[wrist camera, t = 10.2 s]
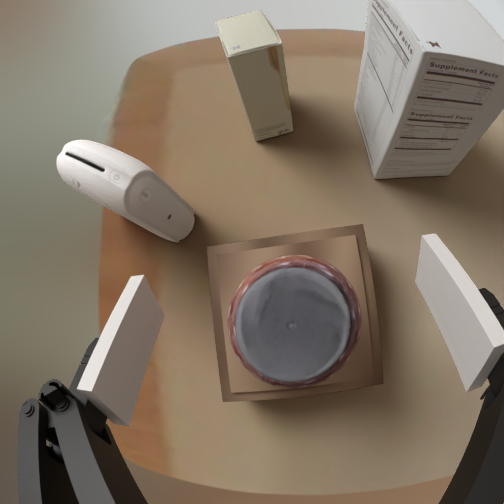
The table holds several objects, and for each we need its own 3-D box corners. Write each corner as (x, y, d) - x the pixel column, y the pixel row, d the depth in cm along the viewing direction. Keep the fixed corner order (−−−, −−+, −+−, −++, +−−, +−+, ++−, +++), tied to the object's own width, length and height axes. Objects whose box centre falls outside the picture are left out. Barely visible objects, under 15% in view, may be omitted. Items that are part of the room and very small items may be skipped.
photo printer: (204, 211, 29) (144, 151, 17) (183, 250, 29) (109, 210, 17) (132, 178, 32) (64, 123, 20) (113, 210, 31) (38, 167, 19)
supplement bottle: (254, 357, 21) (201, 402, 10) (256, 275, 22) (206, 238, 11) (338, 358, 19) (372, 408, 9) (339, 275, 21) (375, 236, 10)
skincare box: (294, 132, 29) (285, 45, 17) (254, 143, 30) (227, 59, 18) (277, 90, 31) (262, 7, 19) (241, 100, 31) (213, 19, 19)
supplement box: (450, 177, 25) (534, 78, 9) (373, 181, 27) (426, 55, 11) (423, 105, 27) (467, -4, 11) (351, 105, 29) (367, -23, 13)
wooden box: (352, 239, 26) (363, 222, 21) (369, 370, 24) (384, 384, 18) (223, 258, 28) (205, 245, 23) (237, 386, 25) (221, 402, 20)
